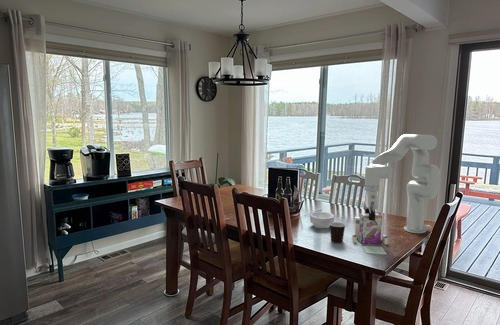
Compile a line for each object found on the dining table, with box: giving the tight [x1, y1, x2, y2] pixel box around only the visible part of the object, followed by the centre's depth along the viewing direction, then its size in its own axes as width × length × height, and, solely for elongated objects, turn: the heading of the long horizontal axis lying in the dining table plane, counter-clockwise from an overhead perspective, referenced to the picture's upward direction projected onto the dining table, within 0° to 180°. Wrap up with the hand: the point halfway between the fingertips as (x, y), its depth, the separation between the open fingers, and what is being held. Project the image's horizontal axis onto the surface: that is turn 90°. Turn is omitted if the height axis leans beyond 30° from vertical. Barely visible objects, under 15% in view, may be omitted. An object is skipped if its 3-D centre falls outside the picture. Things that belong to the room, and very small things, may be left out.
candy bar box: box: [358, 213, 383, 245], centre depth 191 cm, size 11×5×16 cm, turn 94°
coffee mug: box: [329, 221, 346, 244], centre depth 192 cm, size 12×9×10 cm
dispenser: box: [351, 216, 389, 245], centre depth 195 cm, size 18×12×12 cm, turn 82°
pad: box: [362, 245, 387, 256], centre depth 180 cm, size 10×10×1 cm
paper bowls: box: [309, 211, 335, 230], centre depth 221 cm, size 15×15×8 cm
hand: (369, 217), depth 190 cm, fingers open, 9 cm apart
